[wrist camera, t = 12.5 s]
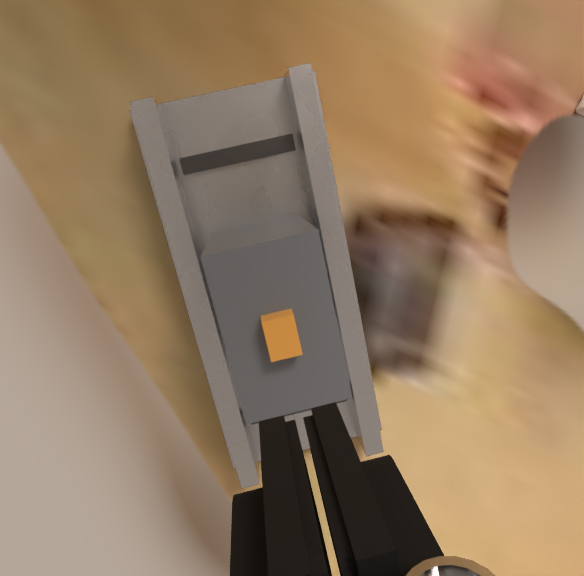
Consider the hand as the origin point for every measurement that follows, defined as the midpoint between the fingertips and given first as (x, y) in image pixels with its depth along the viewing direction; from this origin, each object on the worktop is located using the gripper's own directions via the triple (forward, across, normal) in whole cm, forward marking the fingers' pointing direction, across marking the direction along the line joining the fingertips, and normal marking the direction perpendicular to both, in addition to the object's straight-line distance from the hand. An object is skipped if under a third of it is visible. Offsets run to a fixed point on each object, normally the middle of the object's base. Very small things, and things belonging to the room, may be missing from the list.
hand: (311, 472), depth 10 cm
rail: (+16, 0, 0) cm, 16 cm away
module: (+15, 0, 0) cm, 15 cm away
